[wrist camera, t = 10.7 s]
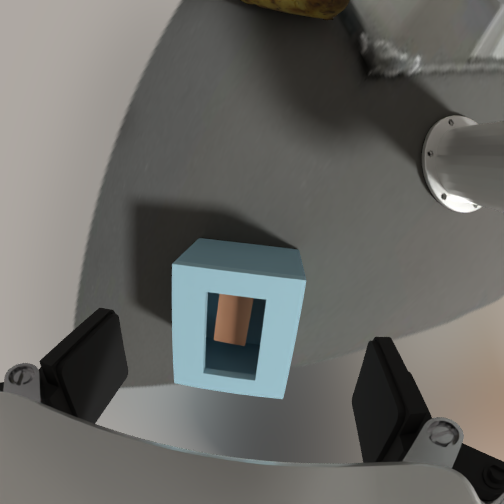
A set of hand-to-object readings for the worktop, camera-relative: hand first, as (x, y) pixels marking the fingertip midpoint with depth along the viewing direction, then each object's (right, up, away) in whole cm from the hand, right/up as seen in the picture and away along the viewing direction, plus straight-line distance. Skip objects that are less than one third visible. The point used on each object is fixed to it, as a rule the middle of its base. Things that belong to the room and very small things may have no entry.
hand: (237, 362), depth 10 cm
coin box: (-1, -2, +28) cm, 28 cm away
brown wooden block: (-1, -1, +27) cm, 27 cm away
